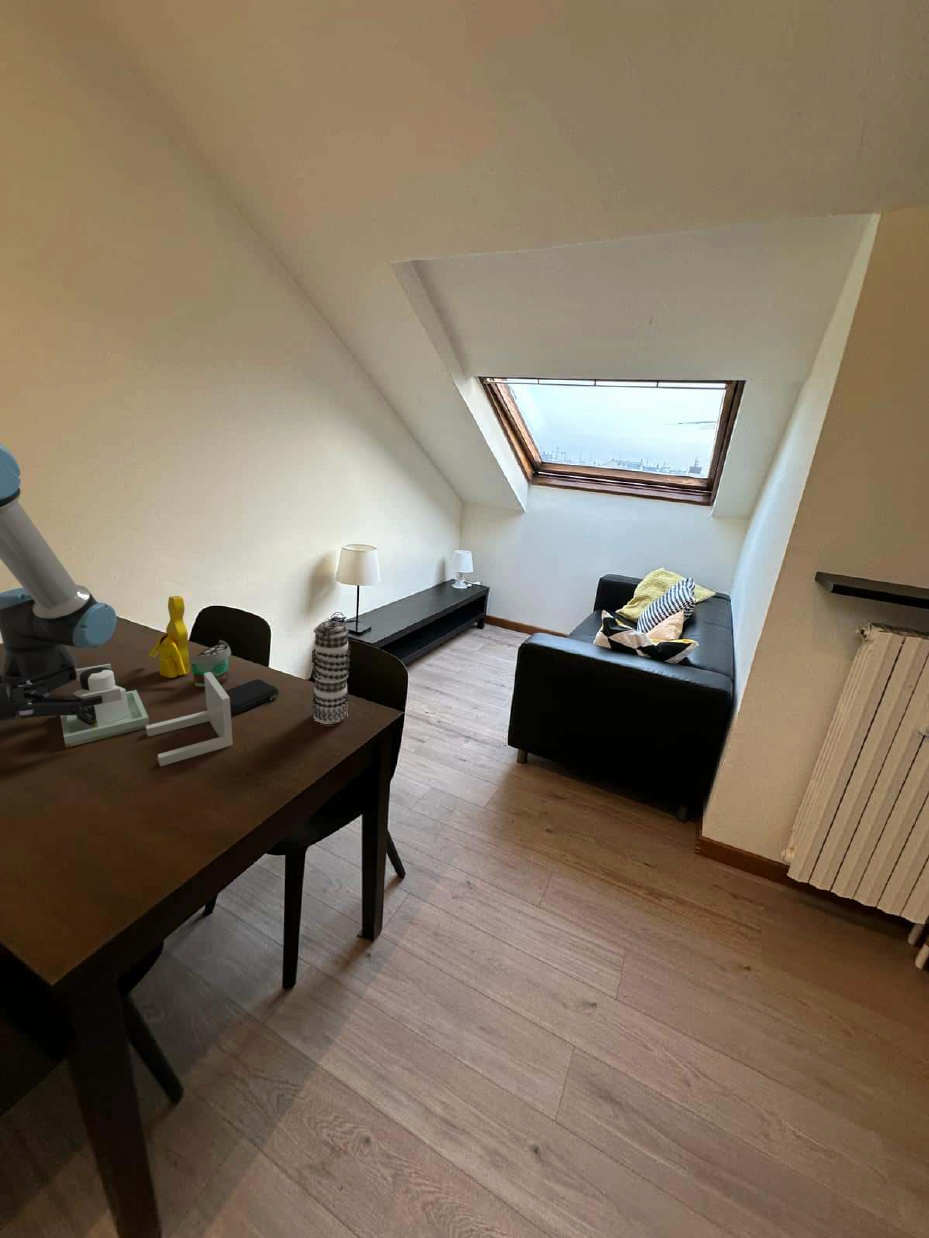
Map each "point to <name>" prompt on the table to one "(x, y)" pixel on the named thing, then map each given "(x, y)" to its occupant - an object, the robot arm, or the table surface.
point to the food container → (211, 664)
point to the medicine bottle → (104, 712)
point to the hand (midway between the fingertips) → (116, 680)
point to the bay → (215, 714)
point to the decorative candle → (330, 672)
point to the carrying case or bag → (250, 695)
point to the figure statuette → (173, 642)
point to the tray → (84, 733)
